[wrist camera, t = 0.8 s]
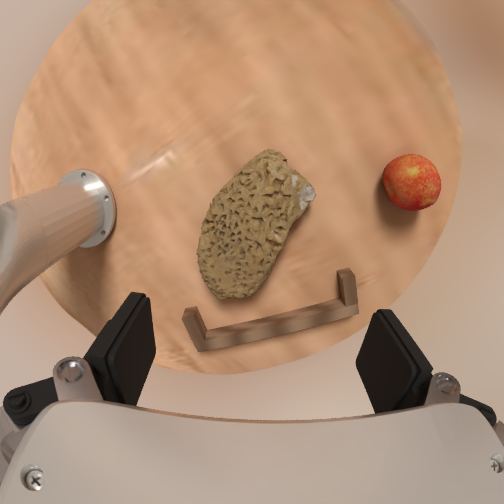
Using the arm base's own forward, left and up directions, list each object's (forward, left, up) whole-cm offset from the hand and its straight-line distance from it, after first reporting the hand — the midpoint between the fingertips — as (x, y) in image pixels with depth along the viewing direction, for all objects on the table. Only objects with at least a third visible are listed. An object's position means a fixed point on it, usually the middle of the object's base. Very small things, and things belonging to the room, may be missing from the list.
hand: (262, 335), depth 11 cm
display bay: (-2, -17, -29) cm, 34 cm away
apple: (+22, -2, -30) cm, 37 cm away
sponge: (-1, -3, -30) cm, 30 cm away
